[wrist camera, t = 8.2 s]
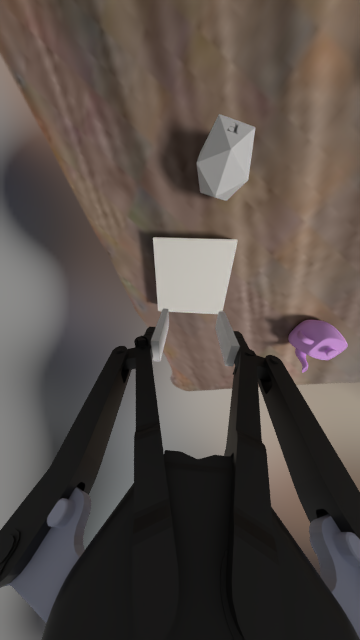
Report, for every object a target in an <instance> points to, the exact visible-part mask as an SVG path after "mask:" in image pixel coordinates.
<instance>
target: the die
mask: <svg viewBox="0 0 360 640" xmlns="http://www.w3.org/2000/svg"><path fill="white" fill-rule="evenodd" d="M254 134H255V127H253V126H251V125H248V124H245V123H242V122H240V121H237V120H234V119H232V118H229V117H226V116H223V115H221V114H219V116H218V118H217V120H216V122H215V124H214V126H213V128H212V129H211V131H210V133H209V135H208V137H207V139H206V141H205V143H204V145H203V147H202V149H201V151H200V154H199V157H198V160H197V171H198V179H199V187H200V193H203V194H206V195H209V196H212V197H215V198H218V199H222V200H225V201H227V200H228V199H229V198H230V197H231V196H232V195H233V194H234V193H235V192H236V191H237V190H238V189H239V188H240V187H241V186H242V185H244V184H245V183H246V182H247V181H248V177H249V170H250V163H251V155H252V148H253V141H254Z"/></svg>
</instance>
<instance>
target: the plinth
mask: <svg viewBox="0 0 360 640" xmlns="http://www.w3.org/2000/svg"><path fill="white" fill-rule="evenodd" d="M237 241H238V240H235V239H205V238H168V237H153V246H154V260H155V274H156V287H157V301H158V311H162V310H163V308H164V309H169V312H186V313H206V314H218V312H219V311H223V307H224V302H225V297H226V293H227V288H228V283H229V278H230V274H231V269H232V264H233V260H234V255H235V250H236V246H237Z"/></svg>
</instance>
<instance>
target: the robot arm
mask: <svg viewBox="0 0 360 640" xmlns="http://www.w3.org/2000/svg"><path fill="white" fill-rule="evenodd" d="M168 328H169V309H164V308H163V310H162V312H161V315H160V318H159V320H158V323H157V325H156V327H149V328H148V329H147V330H146V333H145V335H144V336H140V337H137V338H136V339H135V348H131V349H127V348H126V347H125V346H119V347H117V348H115V349H114V350H113V351H112V353H111V355H110V357H109V359H108V361H107V362H106V364H105V366H104V368H103V370H102V372H101V373H100V375H99V377H98V379H97V381H96V383H95V385H94V387H93V388H92V390H91V392H90V394H89V396H88V398H87V399H86V401H85V403H84V405H83V407H82V409H81V411H80V412H79V414H78V416H77V418H76V420H75V422H74V424H73V425H72V427H71V429H70V431H69V433H68V435H67V437H66V439H65V440H64V442H63V444H62V446H61V448H60V450H59V452H58V453H57V455H56V457H55V459H54V461H53V463H52V465H51V466H50V468H49V469H48V471H47V472H46V473H45V474H44V476H43V477H42V478H41V480H40V481H39V482H38V483H37V485H36V486H35V487H34V488H33V490H32V491H31V492H30V493H29V495H28V496H27V497H26V498H25V500H24V501H23V502H22V504H21V505H20V506H19V507H18V509H17V510H16V511H15V513H14V514H13V515H12V516H11V517H10V519H9V520H8V521H7V523H6V524H5V525H4V526H3V528H2V529H1V530H0V587H3V586H7V585H10V586H12V587H13V588H14V589H15V590H16V591H17V592H18V593H19V594H20V595H21V596H22V597H23V599H24V600H25V601H26V602H27V603H28V604H29V605H30V606H31V607H32V608H33V609H34V610H35V611H36V613H37V614H38V615H39V616H40V617H41V618H42V619H43V620H44V621H45V622H46V627H45V630H44V633H43V637H42V640H360V492H359V490H358V488H357V487H356V485H355V483H354V482H353V480H352V479H351V477H350V475H349V473H348V472H347V470H346V468H345V467H344V465H343V463H342V462H341V460H340V458H339V457H338V455H337V453H336V452H335V450H334V448H333V447H332V445H331V443H330V442H329V440H328V438H327V436H326V435H325V433H324V432H323V430H322V428H321V426H320V425H319V423H318V421H317V420H316V418H315V416H314V415H313V413H312V411H311V410H310V408H309V406H308V405H307V403H306V401H305V400H304V398H303V396H302V395H301V393H300V391H299V389H298V388H297V387H296V384H295V383H294V381H293V379H292V378H291V376H290V374H289V373H288V371H287V369H286V368H285V366H284V364H283V363H282V361H281V360H280V359H279V358H277V357H275V356H272V355H268V356H266V358H263V357H260V356H257V355H256V354H255V353H254V351H252V350H250V349H249V348H248V346H247V344H246V342H245V340H244V338H243V336H242V334H241V333H240V332H238V331H233V330H232V327H231V325H230V323H229V321H228V318H227V316H226V314H225V312H223V311H219V312H218V317H217V322H216V327H215V329H216V333H217V336H218V340H219V344H220V348H221V352H222V355H223V359H224V363H225V366H233V365H234V363H235V369H234V372H233V375H234V378H233V388H232V397H231V407H230V416H229V426H228V436H227V444H226V450H225V454H224V456H219V455H213V456H209V457H206V458H202V459H195V458H193V457H191V456H189V455H187V454H185V453H183V452H179V451H168V450H165V454H163V447H162V438H161V431H160V423H159V415H158V407H157V399H156V392H155V383H154V376H153V368H152V358H153V361H161V357H162V353H163V348H164V344H165V340H166V336H167V332H168ZM132 369H136V432H135V437H134V483H133V485H132V486H131V488H130V489H129V490H128V492H127V493H126V494H125V496H124V497H123V499H122V500H121V501H120V503H119V504H118V505H117V507H116V508H115V510H114V511H113V512H112V514H111V515H110V516H109V518H108V519H107V521H106V522H105V523H104V525H103V526H102V527H101V529H100V530H99V532H98V533H97V534H96V536H95V537H94V538H93V540H92V541H91V542H90V544H89V545H88V547H87V548H86V550H84V546H83V534H84V529H85V526H86V523H87V520H88V517H89V514H90V510H91V499H90V496H89V493H90V490H91V488H92V486H93V484H94V481H95V479H96V476H97V474H98V471H99V468H100V465H101V462H102V459H103V456H104V453H105V450H106V446H107V444H108V441H109V437H110V434H111V431H112V428H113V425H114V422H115V419H116V416H117V413H118V410H119V407H120V404H121V400H122V397H123V394H124V391H125V388H126V385H127V382H128V379H129V376H130V372H131V370H132ZM258 384H259V386H260V389H261V392H262V395H263V397H264V401H265V403H266V406H267V409H268V412H269V415H270V418H271V421H272V423H273V426H274V429H275V432H276V435H277V438H278V441H279V444H280V446H281V449H282V452H283V455H284V458H285V461H286V463H287V466H288V469H289V472H290V475H291V478H292V481H293V483H294V486H295V489H296V491H297V494H298V497H299V499H300V502H301V504H302V506H303V508H304V510H305V513H306V515H307V517H308V519H309V521H310V527H309V532H310V542H311V546H312V548H313V550H314V552H315V553H316V554H317V557H318V560H319V564H320V572H321V577H320V575H319V574H318V573H317V572H316V570H315V568H314V567H313V565H312V564H311V563H310V561H309V560H308V558H307V557H306V556H305V554H304V553H303V551H302V550H301V548H300V547H299V546H298V544H297V543H296V541H295V540H294V538H293V537H292V536H291V534H290V533H289V531H288V530H287V528H286V527H285V526H284V524H283V523H282V521H281V520H280V518H279V517H278V516H277V514H276V513H275V512H274V510H273V509H272V507H271V501H270V489H269V477H268V465H267V454H266V448H265V445H264V444H263V443H262V439H261V425H260V411H259V410H260V409H259V394H258Z"/></svg>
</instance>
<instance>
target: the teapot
mask: <svg viewBox="0 0 360 640" xmlns="http://www.w3.org/2000/svg"><path fill="white" fill-rule="evenodd" d="M288 338H289V342H290V343H291V344H292V345H293V346H294V347H295V348H296V350H295V353H296V356H297V357H298V359H299V360H300V362H301V363H302V366H303V368H302V372H305V371H306V370H307V369H308V363H307V361H306V354H307V355H309V356H311V357H314V358H317V359H321V360H329V359H332V358H333V357H335V356H337V355H338V354H340V353H341V352H342V351H344V350H345V349H346V348H347V346H348V345H347V342H346V341H345V339H344V337H343V336H342V334H341V333H340V332H339V331H338V330H337V329H336V328H335V327H333V326H332V325H331V324H329V323H327V322H324V321H320V320H305V321H303V322H301V323H300V324H299V325H298V326H296V327H295V328H294V329H293V330H292V331H291V333H290V334H289V337H288Z"/></svg>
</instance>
